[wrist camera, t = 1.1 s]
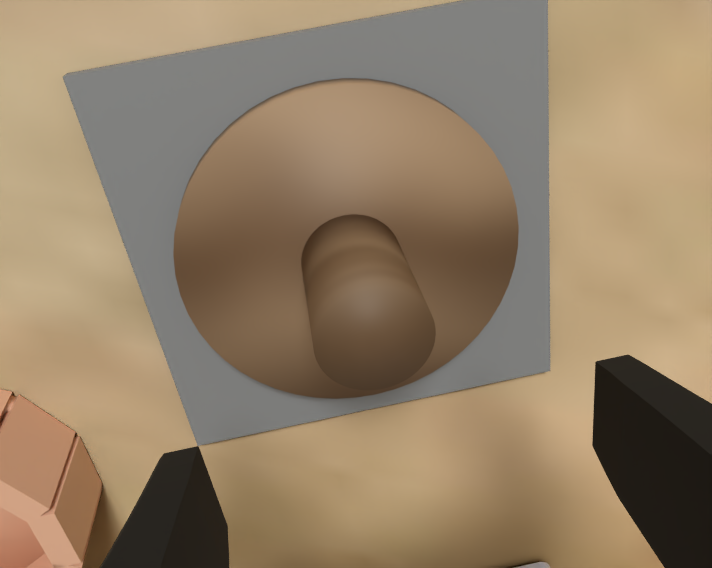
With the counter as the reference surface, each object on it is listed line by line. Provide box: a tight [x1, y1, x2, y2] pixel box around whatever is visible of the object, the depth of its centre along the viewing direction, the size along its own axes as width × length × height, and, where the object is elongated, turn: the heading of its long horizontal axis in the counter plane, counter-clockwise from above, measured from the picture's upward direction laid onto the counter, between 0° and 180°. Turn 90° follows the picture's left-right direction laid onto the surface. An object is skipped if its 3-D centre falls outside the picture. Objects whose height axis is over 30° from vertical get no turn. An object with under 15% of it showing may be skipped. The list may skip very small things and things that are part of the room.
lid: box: [173, 78, 519, 399], centre depth 17 cm, size 10×10×5 cm
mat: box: [63, 0, 550, 446], centre depth 19 cm, size 12×12×1 cm
